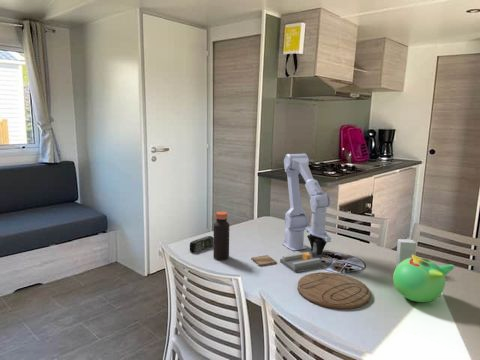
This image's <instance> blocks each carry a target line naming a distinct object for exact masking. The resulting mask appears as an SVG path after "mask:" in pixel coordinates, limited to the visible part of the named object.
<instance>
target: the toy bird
mask: <svg viewBox="0 0 480 360" xmlns="http://www.w3.org/2000/svg"><path fill="white" fill-rule="evenodd" d="M454 269H455V265H454V264H444V265H438V264H437V263H435V262H433V261H432V260H429V259H426V258H423V257H419V256H418V255H416V254H415V255H412V258H408V259H405V260H403V261H402V262H401V263H399V265H398V266H397V267H396V266H395V269H394V272H393V275H392V276H393V277H392V280H393V284H394V287H395V289H396V290H397V291H398V293H399V294H400V295H401V296H403V297H404V298H406V299H408V300H410V301H412V302H417V303H429V302H432V301H434V300H436V299H438V298H439V297H440V296H441V295H442V293H443V291H444V290H445V287H446V276H447V275H448V274H449V273H450V272H451V271H453V270H454Z"/></svg>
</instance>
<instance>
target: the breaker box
mask: <svg viewBox="0 0 480 360" xmlns="http://www.w3.org/2000/svg"><path fill="white" fill-rule="evenodd" d="M306 252H307V253H309V254H310V255H311V252H309V251H305V252H300V253H294V254H288V255H283V256H282V258H280V261H279V263H281V264H282V265H283V266H284V267H286V268H288V269H289V270H290V271H291V272H293V273H299V272H305V271H310V270H314V269H320V268H323V267H324V262H322V259H320V258H316V259H315V258H313V257H312V255H311V260H304V259H302V258H303V253H306Z"/></svg>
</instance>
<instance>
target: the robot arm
mask: <svg viewBox="0 0 480 360" xmlns="http://www.w3.org/2000/svg"><path fill="white" fill-rule="evenodd" d="M309 163H310V159H309V156H308V155H307V154H306V153H287V154H285V156H284V159H283V167H284V172H285V173H286V176H287V177H286V179H287V188H288V196H289V206H290V208H289V209H288V211H286V212H285V213H284V214H285V218H284V225H285V227H286V228H285V229H284V238H283V241H284V242H283V243H282V245H283V246H285V247H286V248H288V249H289V250H291V251H294V252H296V251H300V250H307V249H308V247H307V246H305V245H304V239H305V233H309V235H307V240H308V242H309V244H310V248H311V252H312V251H313V241H315V242H316V247H317V255H322V256H323V253H322V252H324V249H325V247H326V246H327V243H331V239H332V237H331V236H330V235H328V234H327V233H328V232H327V231H326V221H327V208H328V207H329V206H330V204H331V199H330V195H329V194H328V193H326V192H325V191H323V189H322V187H321V186H320V182H318V180H317V179H314V177H313V175H312V172H311V169H310V167H309V165H310V164H309ZM299 174H300V175H301V176H302V178H303V180H304V182H305V184H304V187H305V189H306V192H307V193H308V196H309V198H310V199H309V205H310V211H311V225H310V226H311V227H310V226H309V223H310V221H309V218H308V215H307V211H306V210H304V209H303V207H302V200H301V190H300V180H299ZM308 226H309V227H308Z"/></svg>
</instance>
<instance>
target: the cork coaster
mask: <svg viewBox="0 0 480 360" xmlns="http://www.w3.org/2000/svg"><path fill="white" fill-rule="evenodd" d="M250 260H251V261H252V260H253V261H252V262H254V263H255V264H256V265H257V264H258V265H257V266H258V267H264V266H270V265H274V264H278V263H277V260H275V259H274V258H273V257H271V256H270V255H268V254H266V255H261V256H259V255H258V256H254V257H251V258H250Z"/></svg>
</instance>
